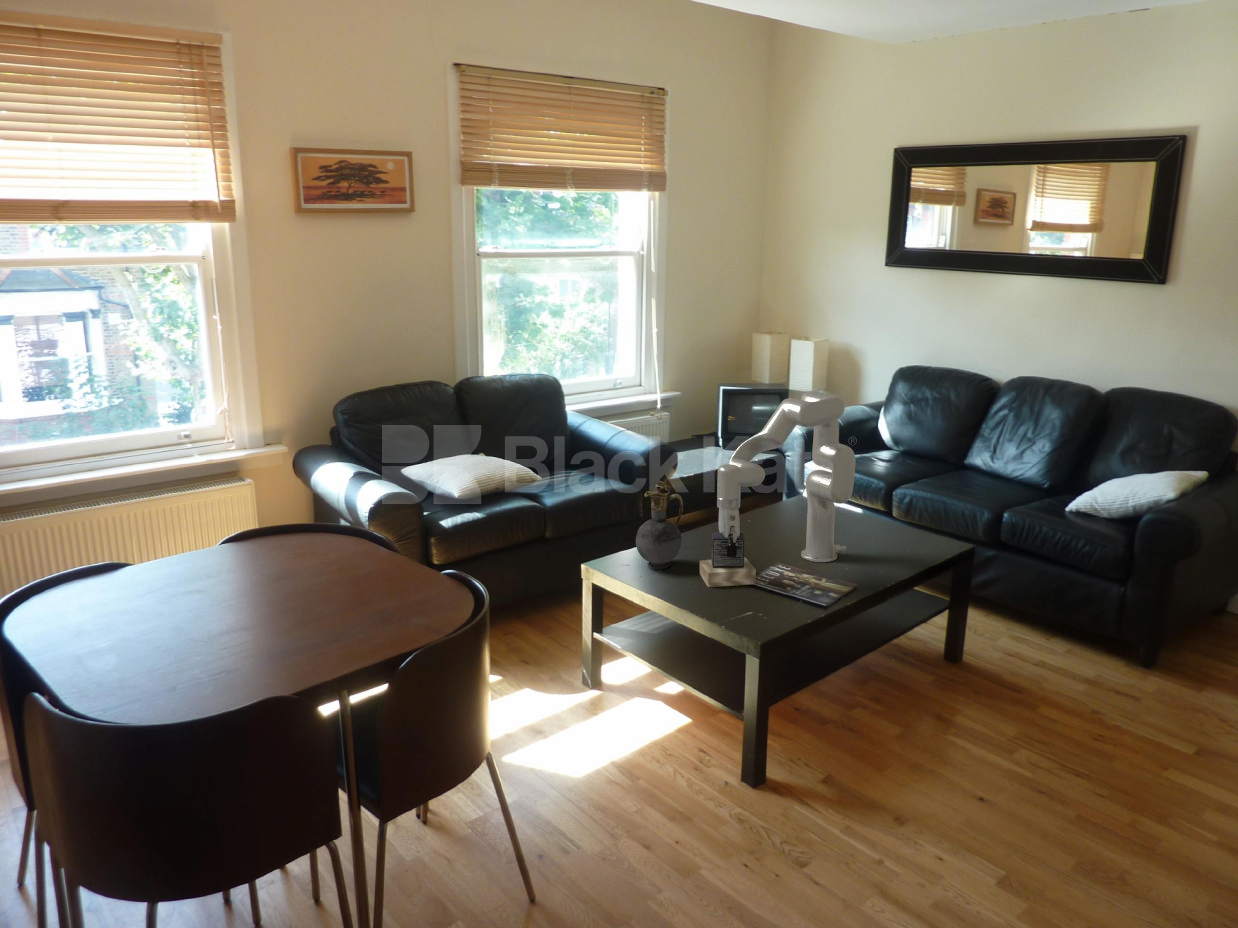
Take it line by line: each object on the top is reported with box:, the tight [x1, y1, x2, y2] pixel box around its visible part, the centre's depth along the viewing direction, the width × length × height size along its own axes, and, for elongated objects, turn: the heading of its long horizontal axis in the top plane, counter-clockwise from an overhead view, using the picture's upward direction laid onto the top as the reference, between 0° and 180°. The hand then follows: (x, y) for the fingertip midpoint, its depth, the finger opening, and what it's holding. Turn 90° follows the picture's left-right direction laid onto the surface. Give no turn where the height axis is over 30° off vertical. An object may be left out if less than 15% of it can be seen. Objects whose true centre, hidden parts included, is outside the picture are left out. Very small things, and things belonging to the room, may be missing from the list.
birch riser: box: [699, 556, 757, 588], centre depth 315 cm, size 16×12×5 cm
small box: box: [711, 532, 745, 568], centre depth 314 cm, size 11×6×10 cm, turn 88°
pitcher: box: [635, 481, 684, 570], centre depth 326 cm, size 11×19×30 cm, turn 130°
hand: (727, 551), depth 313 cm, fingers open, 9 cm apart
